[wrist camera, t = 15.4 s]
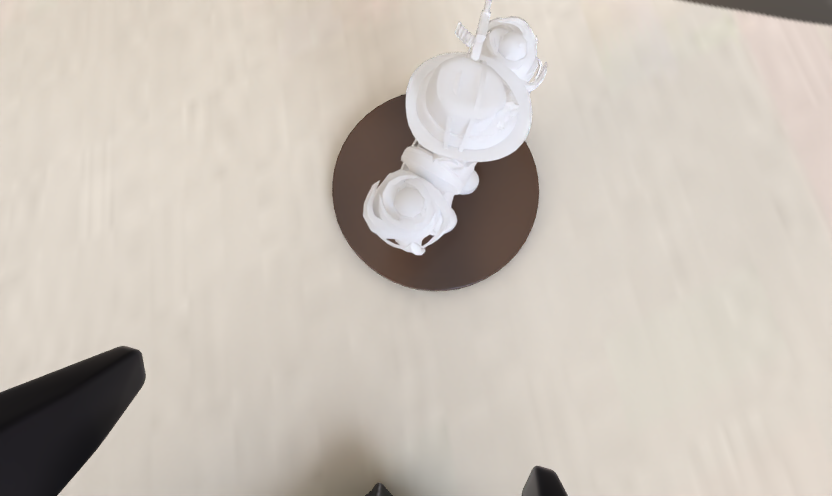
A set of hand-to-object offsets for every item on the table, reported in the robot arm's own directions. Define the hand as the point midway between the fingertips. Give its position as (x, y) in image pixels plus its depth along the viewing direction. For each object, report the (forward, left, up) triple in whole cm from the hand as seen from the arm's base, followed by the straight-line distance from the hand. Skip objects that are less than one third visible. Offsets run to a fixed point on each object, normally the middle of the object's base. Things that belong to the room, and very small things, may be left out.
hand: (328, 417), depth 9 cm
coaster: (+6, +7, -13) cm, 16 cm away
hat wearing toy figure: (+6, +7, -12) cm, 15 cm away
